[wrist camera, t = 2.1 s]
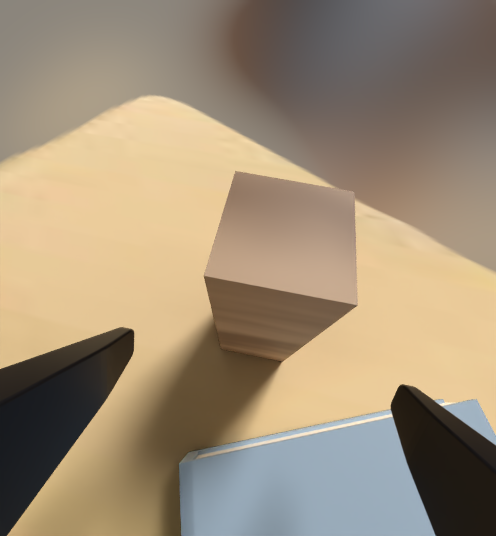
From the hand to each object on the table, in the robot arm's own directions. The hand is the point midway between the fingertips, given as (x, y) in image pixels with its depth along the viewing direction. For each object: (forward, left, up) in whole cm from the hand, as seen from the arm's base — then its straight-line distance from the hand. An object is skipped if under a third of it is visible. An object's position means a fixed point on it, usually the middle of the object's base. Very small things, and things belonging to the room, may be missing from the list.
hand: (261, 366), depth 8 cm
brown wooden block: (+1, +4, -10) cm, 11 cm away
